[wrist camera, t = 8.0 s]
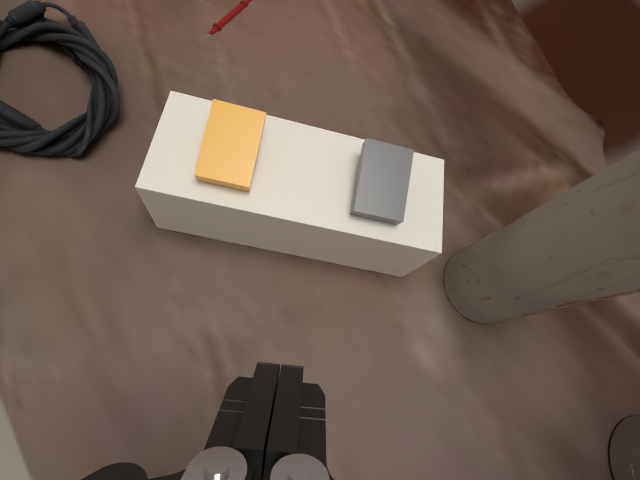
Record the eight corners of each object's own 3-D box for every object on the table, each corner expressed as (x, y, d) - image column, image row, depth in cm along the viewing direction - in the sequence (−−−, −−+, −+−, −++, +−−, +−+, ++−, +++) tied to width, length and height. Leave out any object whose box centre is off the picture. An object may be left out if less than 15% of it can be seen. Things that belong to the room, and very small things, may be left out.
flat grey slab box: (405, 157, 32) (413, 150, 30) (395, 225, 31) (403, 221, 29) (360, 146, 31) (366, 138, 29) (348, 215, 30) (354, 210, 28)
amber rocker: (265, 122, 30) (266, 112, 28) (249, 193, 29) (249, 187, 27) (215, 109, 29) (213, 98, 28) (197, 181, 29) (194, 174, 27)
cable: (151, 138, 38) (141, 110, 34) (-4, 196, 33) (-38, 171, 29) (80, 17, 41) (63, -22, 37) (-71, 53, 36) (-110, 12, 32)
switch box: (407, 195, 41) (444, 156, 34) (402, 277, 38) (441, 253, 30) (185, 143, 38) (172, 86, 30) (157, 227, 34) (135, 187, 27)
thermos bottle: (525, 310, 39) (1072, 186, 14) (462, 334, 37) (979, 237, 11) (492, 241, 41) (911, 19, 16) (431, 259, 39) (805, 33, 13)
